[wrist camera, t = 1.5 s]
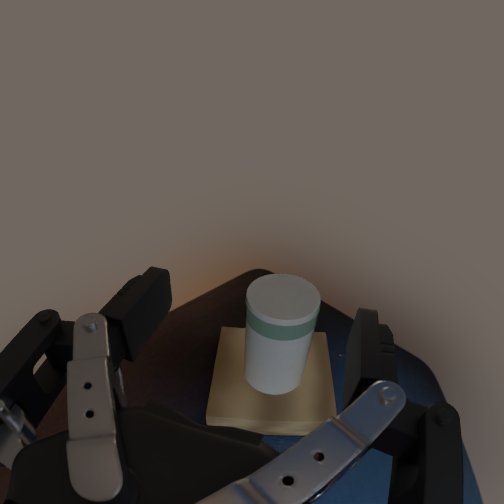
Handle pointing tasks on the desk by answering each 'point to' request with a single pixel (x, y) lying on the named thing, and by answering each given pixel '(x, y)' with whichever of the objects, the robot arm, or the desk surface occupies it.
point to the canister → (279, 331)
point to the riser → (266, 405)
